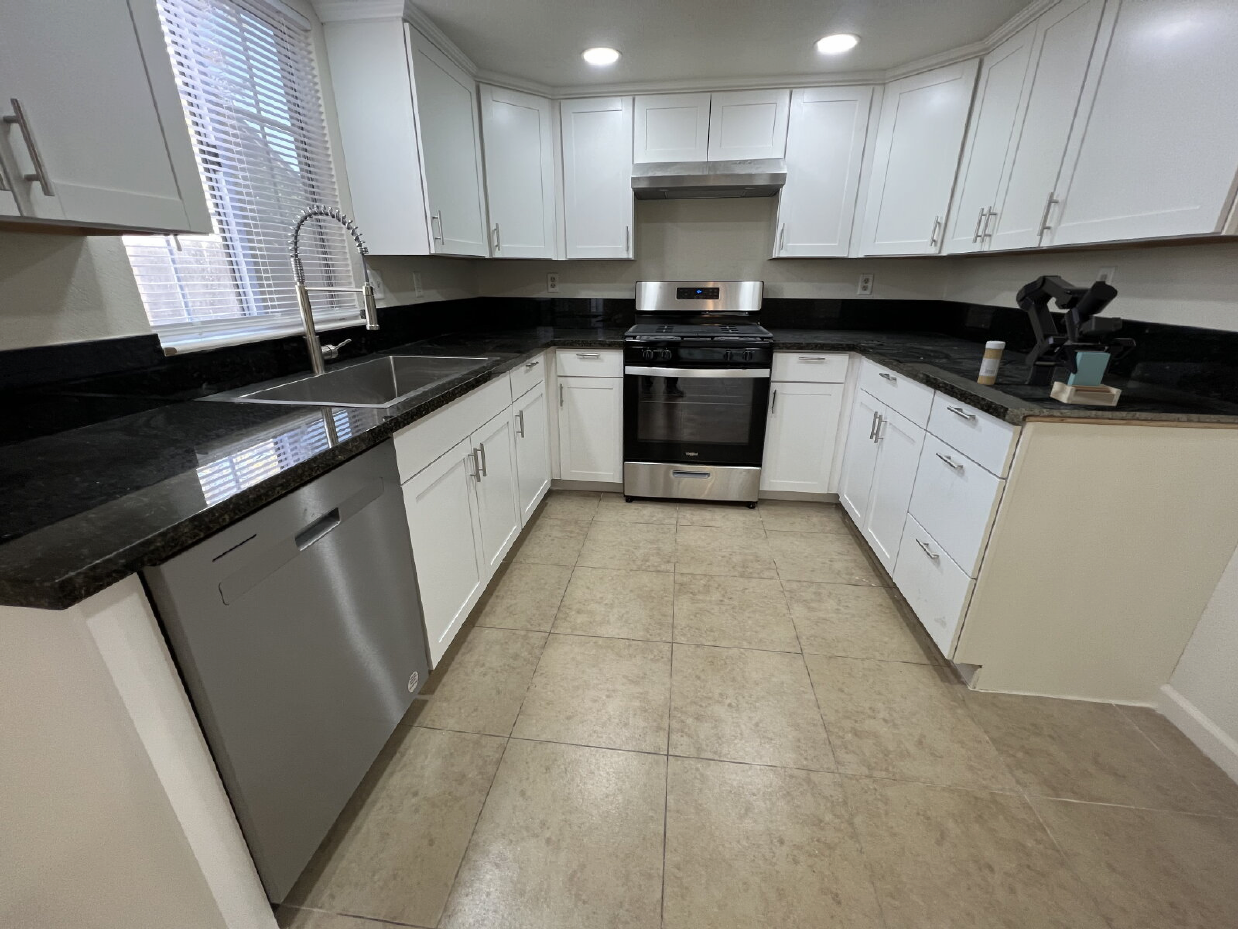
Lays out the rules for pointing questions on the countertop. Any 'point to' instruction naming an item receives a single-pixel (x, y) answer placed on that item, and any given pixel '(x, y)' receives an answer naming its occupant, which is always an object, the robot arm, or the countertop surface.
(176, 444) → the countertop surface
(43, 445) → the countertop surface
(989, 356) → the sprinkles bottle
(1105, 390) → the offcut stack
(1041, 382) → the robot arm
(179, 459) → the countertop surface
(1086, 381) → the tall sheet
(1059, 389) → the board rack
